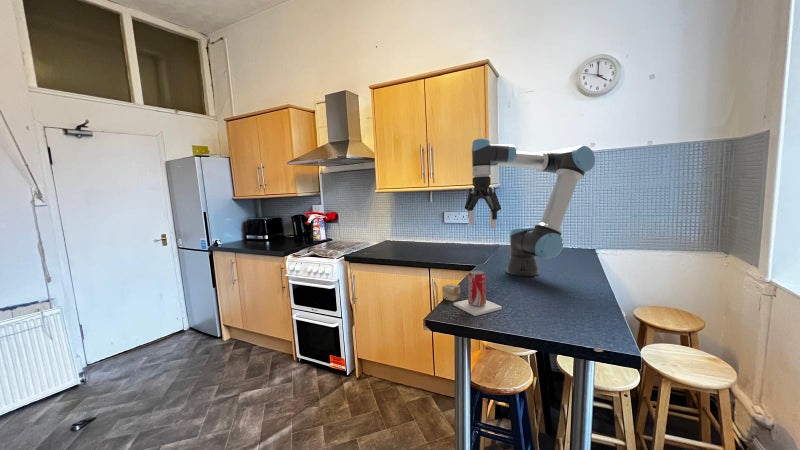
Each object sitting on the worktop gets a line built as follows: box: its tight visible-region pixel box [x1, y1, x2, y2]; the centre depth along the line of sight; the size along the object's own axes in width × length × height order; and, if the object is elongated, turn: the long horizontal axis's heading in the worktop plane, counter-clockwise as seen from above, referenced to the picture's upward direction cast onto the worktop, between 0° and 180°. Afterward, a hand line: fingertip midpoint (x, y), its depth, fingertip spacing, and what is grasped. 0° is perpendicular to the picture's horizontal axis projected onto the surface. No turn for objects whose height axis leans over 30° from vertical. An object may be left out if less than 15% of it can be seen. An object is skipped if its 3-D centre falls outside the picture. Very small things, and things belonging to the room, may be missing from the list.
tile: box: [453, 299, 503, 317], centre depth 114 cm, size 12×12×1 cm
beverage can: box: [467, 269, 487, 306], centre depth 114 cm, size 6×6×12 cm
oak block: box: [441, 283, 461, 302], centre depth 125 cm, size 5×5×5 cm
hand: (481, 226), depth 136 cm, fingers open, 13 cm apart
